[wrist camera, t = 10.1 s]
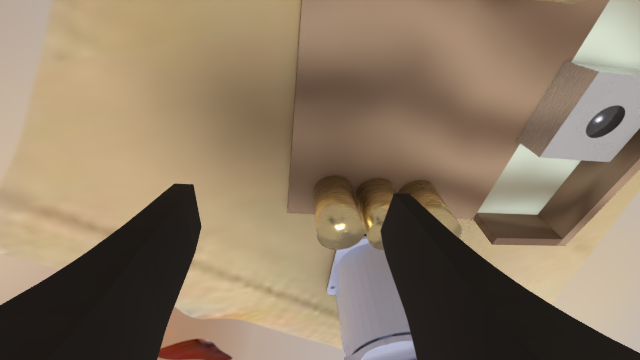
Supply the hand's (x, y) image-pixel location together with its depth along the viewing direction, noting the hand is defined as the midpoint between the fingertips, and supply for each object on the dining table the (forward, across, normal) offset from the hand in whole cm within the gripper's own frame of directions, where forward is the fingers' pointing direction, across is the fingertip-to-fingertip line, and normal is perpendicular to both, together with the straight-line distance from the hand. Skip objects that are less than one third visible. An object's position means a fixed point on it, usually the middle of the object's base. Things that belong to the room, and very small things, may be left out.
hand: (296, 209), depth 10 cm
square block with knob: (+9, -19, -2) cm, 22 cm away
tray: (+10, -12, -1) cm, 16 cm away
